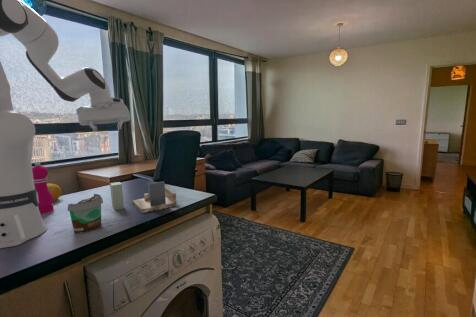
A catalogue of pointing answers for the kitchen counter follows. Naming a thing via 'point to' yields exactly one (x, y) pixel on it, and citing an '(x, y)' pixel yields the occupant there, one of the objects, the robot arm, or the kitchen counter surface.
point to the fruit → (54, 190)
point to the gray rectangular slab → (157, 193)
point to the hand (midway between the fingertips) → (107, 129)
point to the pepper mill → (42, 188)
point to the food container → (86, 214)
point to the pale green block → (117, 195)
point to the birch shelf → (144, 205)
